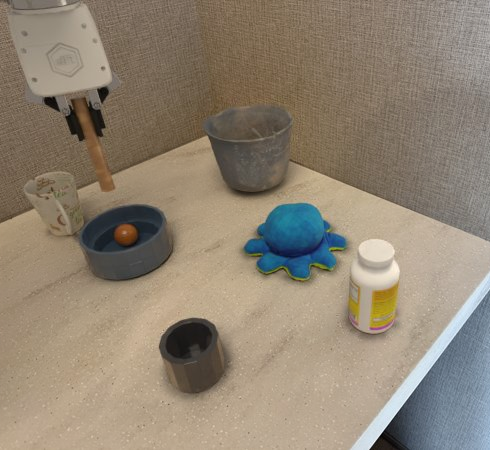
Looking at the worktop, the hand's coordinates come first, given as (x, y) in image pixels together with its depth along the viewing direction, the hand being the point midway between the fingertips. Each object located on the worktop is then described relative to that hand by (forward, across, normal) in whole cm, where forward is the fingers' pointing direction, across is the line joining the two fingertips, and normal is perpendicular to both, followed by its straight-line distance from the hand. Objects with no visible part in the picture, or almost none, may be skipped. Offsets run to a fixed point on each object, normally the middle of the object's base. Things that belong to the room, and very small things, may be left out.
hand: (90, 135), depth 65 cm
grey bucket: (+23, +28, +10) cm, 38 cm away
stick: (+8, 0, -2) cm, 9 cm away
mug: (+23, -9, +13) cm, 28 cm away
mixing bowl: (+23, 0, 0) cm, 23 cm away
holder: (+23, +3, -29) cm, 37 cm away
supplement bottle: (+23, +28, -33) cm, 49 cm away
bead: (+20, 0, +3) cm, 21 cm away
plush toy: (+23, +26, -13) cm, 37 cm away
